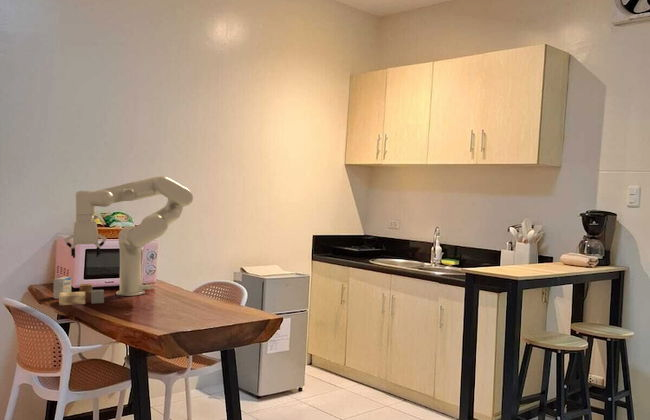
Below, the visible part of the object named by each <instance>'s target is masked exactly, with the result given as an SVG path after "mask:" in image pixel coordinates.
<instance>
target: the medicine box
mask: <svg viewBox="0 0 650 420" xmlns="http://www.w3.org/2000/svg"><path fill="white" fill-rule="evenodd" d="M65 292H72V277H71V276H62V277H58V278H57V277H56V278H54V279H53V299H58V300H59V295H60V293H65Z"/></svg>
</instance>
